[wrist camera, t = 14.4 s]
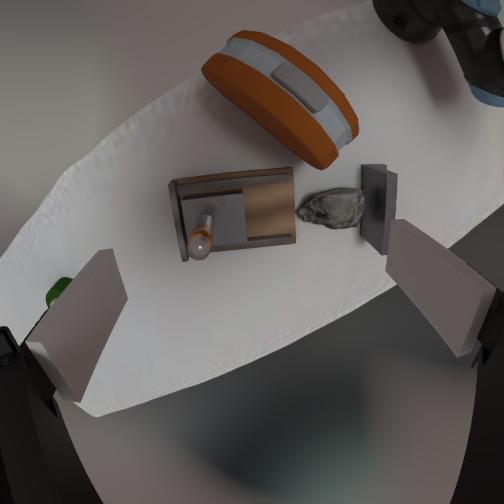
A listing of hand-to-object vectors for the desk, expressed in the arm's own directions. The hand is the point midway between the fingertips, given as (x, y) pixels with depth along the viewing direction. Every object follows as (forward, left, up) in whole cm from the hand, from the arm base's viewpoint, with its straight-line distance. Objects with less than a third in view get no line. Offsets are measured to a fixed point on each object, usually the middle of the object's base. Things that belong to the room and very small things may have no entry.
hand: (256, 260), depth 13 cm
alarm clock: (-10, +7, -39) cm, 41 cm away
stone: (+9, +16, -39) cm, 43 cm away
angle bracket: (+9, +25, -39) cm, 47 cm away
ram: (+9, -5, -37) cm, 39 cm away
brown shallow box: (+9, -1, -39) cm, 40 cm away
